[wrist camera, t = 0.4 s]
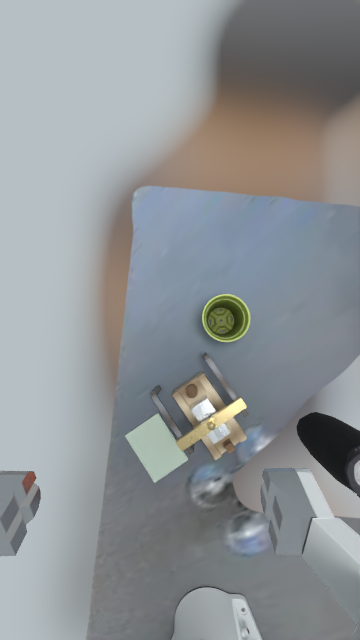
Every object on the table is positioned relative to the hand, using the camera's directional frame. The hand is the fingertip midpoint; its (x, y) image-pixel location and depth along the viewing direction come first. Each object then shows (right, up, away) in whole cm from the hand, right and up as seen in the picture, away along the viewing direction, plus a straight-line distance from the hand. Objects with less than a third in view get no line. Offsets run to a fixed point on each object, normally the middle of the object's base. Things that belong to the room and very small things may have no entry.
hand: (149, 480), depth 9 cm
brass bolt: (+7, -14, +42) cm, 45 cm away
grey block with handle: (+7, -14, +47) cm, 50 cm away
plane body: (+7, -13, +50) cm, 52 cm away
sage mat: (-4, -23, +50) cm, 55 cm away
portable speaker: (+30, -18, +49) cm, 60 cm away
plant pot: (+10, +6, +51) cm, 53 cm away
